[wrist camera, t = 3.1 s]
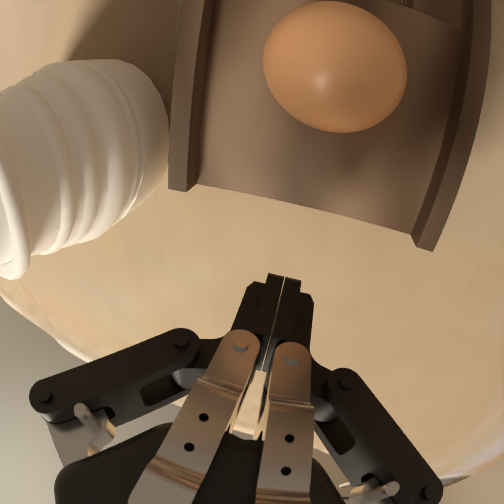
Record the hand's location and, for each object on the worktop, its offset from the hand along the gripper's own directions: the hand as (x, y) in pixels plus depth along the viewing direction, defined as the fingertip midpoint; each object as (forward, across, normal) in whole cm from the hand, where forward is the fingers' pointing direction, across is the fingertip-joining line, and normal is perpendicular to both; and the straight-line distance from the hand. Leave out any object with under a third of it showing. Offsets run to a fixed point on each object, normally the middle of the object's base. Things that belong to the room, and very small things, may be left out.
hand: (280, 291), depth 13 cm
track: (+7, 0, -16) cm, 17 cm away
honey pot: (+8, +16, -4) cm, 18 cm away
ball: (+3, 0, -10) cm, 10 cm away
